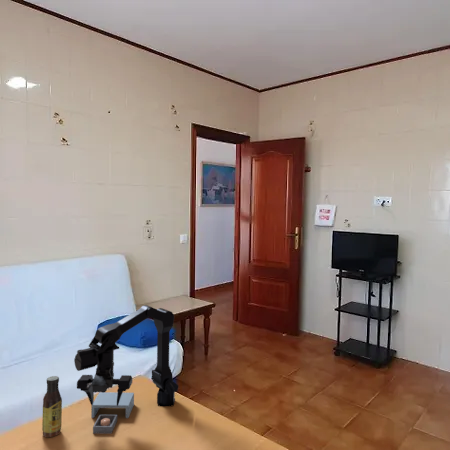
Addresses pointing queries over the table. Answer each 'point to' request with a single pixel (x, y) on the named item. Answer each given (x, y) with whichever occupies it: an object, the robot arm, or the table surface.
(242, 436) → the table surface
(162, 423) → the table surface
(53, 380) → the sauce bottle
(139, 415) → the table surface
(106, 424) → the tan rounded dome
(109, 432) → the tray
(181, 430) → the table surface
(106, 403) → the grey small bench
